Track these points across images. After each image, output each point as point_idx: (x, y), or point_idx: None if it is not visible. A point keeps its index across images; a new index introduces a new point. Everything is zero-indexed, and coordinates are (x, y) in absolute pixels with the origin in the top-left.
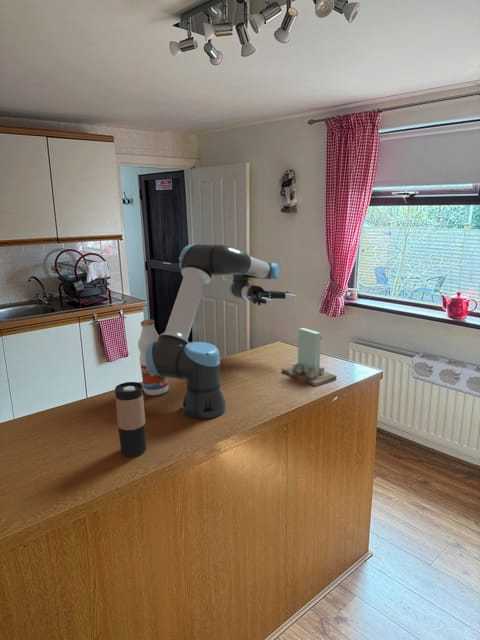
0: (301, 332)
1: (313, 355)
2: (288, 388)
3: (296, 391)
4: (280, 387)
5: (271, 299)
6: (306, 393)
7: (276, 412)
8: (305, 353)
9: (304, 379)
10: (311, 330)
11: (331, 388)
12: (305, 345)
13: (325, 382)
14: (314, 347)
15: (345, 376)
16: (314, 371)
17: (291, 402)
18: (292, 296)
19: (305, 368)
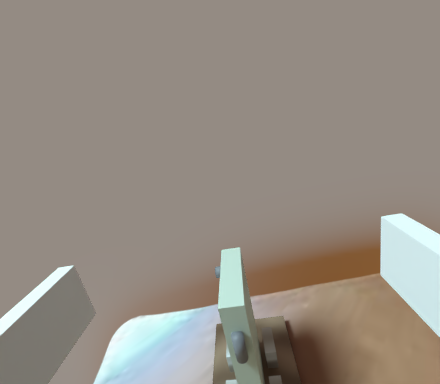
0: (245, 301)
1: (251, 308)
2: (354, 344)
3: (339, 322)
4: (377, 360)
5: (395, 218)
6: (320, 306)
7: None
8: (255, 339)
9: (292, 351)
10: (222, 272)
11: (260, 303)
12: (251, 319)
13: None
14: (247, 286)
15: (189, 333)
16: (262, 329)
17: (369, 290)
18: (49, 309)
19: (275, 351)
